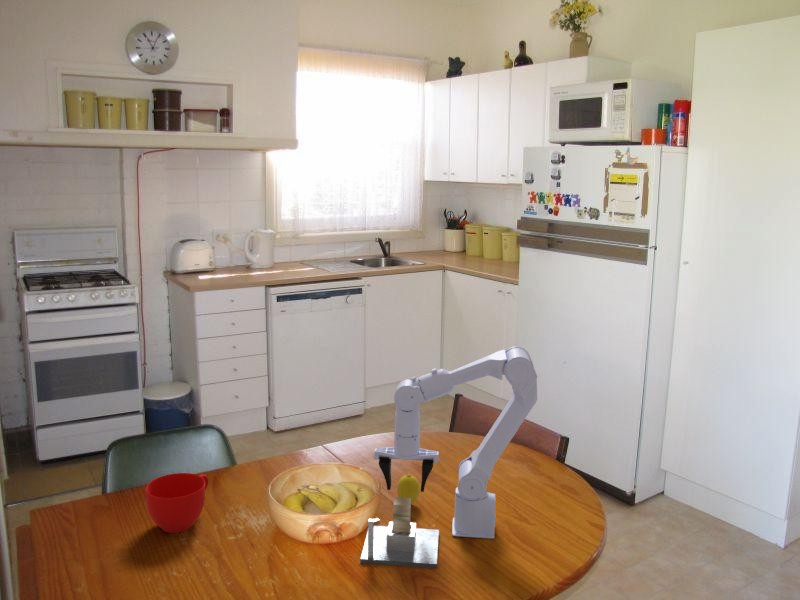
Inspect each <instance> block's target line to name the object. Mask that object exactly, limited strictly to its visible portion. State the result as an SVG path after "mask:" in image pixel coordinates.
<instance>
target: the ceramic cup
mask: <svg viewBox="0 0 800 600" xmlns="http://www.w3.org/2000/svg"><path fill="white" fill-rule="evenodd" d="M208 485H209V477H208V476H207V475H206V474H203V473H202V474H199V475H197V474H195V473H187V472H178V473H176V472H175V473H169V474H164V475H162V476H159V477H156V478H154V479H152V480H151V481H150V482H149V483H147V484H146V487H145V490H144V494H145V501H146V506H147V510H148V513H149V516H150V518H151V519H152V521H153V522H154V523H155V525H157V527H159V528H160V529H162V531H163V532H165V533H168V534H179V533H183V532H186V531H188V530H190V529H191V528H192V526H193V525H194V524H195V522H196V521H197V520H198V519H199V518H200V515H201V513H202V511H203V508H204V506H205V505H204V504H205V500H206V499H205V497H206V490H207V488H208Z"/></svg>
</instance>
